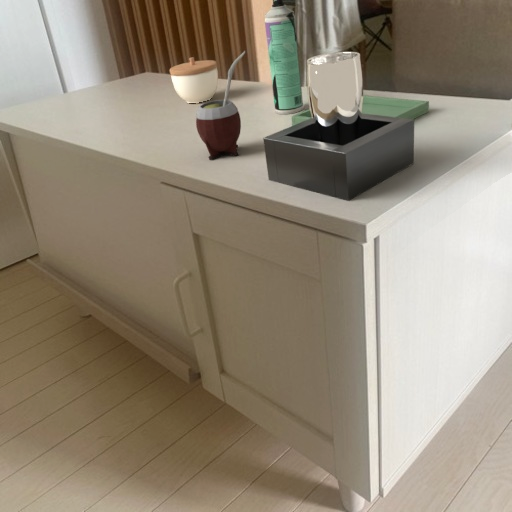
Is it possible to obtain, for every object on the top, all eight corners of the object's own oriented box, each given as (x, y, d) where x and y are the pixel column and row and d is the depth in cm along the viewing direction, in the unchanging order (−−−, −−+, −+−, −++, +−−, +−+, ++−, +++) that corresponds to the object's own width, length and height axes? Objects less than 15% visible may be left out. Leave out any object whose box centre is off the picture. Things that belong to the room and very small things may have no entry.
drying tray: (428, 111, 92) (429, 101, 91) (373, 138, 84) (373, 127, 83) (347, 103, 104) (347, 93, 103) (292, 126, 96) (291, 116, 95)
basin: (414, 163, 73) (414, 119, 70) (348, 200, 65) (345, 153, 62) (333, 148, 82) (331, 109, 79) (268, 179, 75) (262, 137, 72)
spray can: (305, 105, 107) (295, -6, 98) (300, 113, 103) (289, -3, 93) (278, 107, 109) (265, -2, 99) (272, 115, 104) (259, 2, 94)
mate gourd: (193, 158, 88) (174, 62, 80) (227, 142, 92) (212, 51, 85) (226, 163, 83) (208, 62, 76) (259, 147, 88) (246, 50, 80)
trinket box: (179, 109, 119) (170, 65, 114) (174, 99, 128) (165, 58, 124) (226, 100, 120) (219, 56, 116) (218, 91, 130) (211, 50, 125)
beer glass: (331, 185, 70) (322, 65, 63) (305, 171, 75) (295, 59, 68) (376, 171, 72) (373, 54, 65) (348, 158, 78) (342, 49, 70)
